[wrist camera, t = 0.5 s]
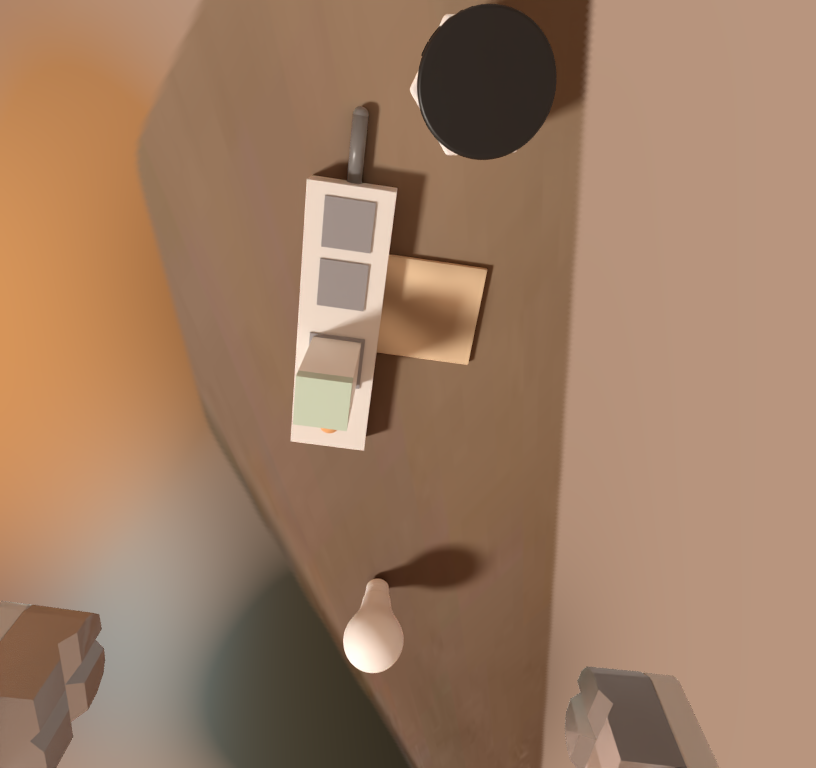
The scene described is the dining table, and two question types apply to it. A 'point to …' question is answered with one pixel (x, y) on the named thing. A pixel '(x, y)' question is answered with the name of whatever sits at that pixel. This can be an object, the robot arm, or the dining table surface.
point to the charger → (326, 384)
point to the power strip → (345, 277)
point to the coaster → (430, 309)
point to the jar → (485, 81)
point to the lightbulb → (374, 631)
